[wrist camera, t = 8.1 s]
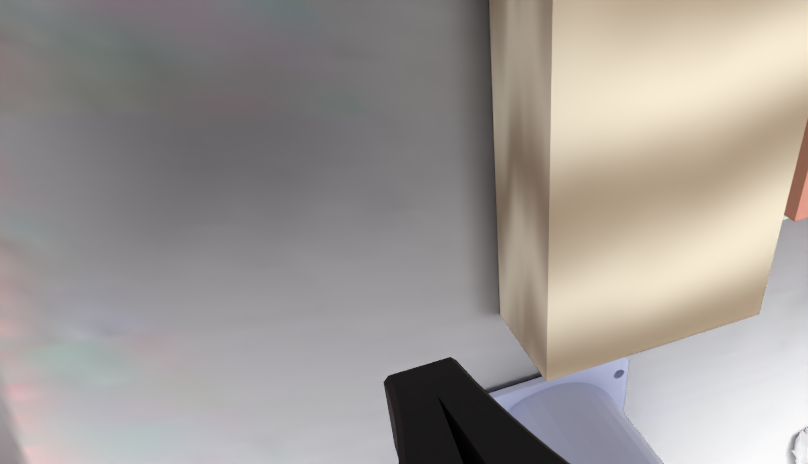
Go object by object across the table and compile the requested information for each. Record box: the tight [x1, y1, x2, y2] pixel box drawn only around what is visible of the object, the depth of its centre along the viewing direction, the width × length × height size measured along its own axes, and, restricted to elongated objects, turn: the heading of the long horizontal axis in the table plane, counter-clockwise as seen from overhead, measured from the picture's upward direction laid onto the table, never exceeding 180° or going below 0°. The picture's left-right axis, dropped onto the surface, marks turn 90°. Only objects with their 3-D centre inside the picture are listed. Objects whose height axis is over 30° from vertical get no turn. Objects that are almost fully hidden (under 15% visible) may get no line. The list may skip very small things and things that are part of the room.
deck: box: [489, 0, 808, 382], centre depth 22 cm, size 14×9×4 cm, turn 7°
